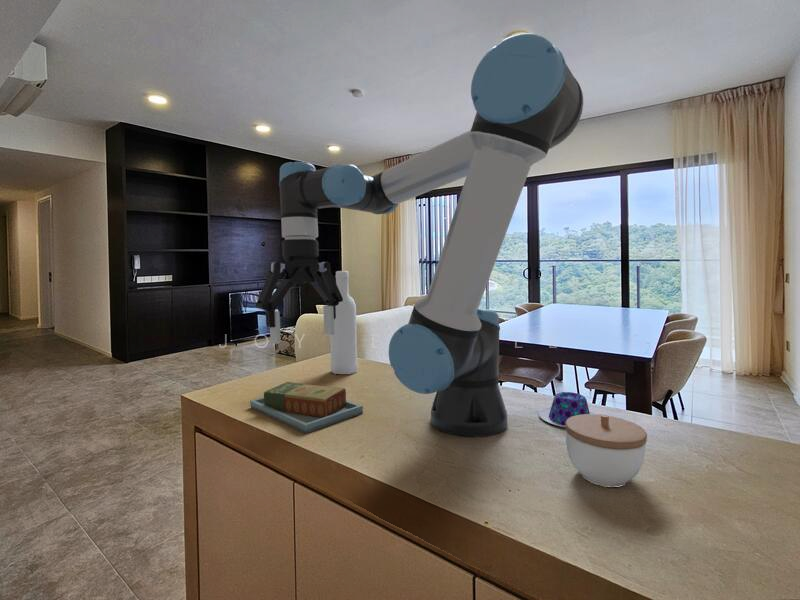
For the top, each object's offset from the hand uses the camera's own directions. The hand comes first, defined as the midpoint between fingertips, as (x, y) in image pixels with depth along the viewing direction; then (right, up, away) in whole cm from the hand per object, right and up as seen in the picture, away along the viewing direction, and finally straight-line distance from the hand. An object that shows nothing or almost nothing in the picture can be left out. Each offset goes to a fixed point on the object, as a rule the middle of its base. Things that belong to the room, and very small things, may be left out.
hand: (303, 338), depth 90 cm
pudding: (+55, -17, -5) cm, 58 cm away
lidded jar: (+51, -18, -28) cm, 61 cm away
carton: (0, -16, +1) cm, 16 cm away
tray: (0, -16, +1) cm, 16 cm away
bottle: (+4, -13, +34) cm, 37 cm away
